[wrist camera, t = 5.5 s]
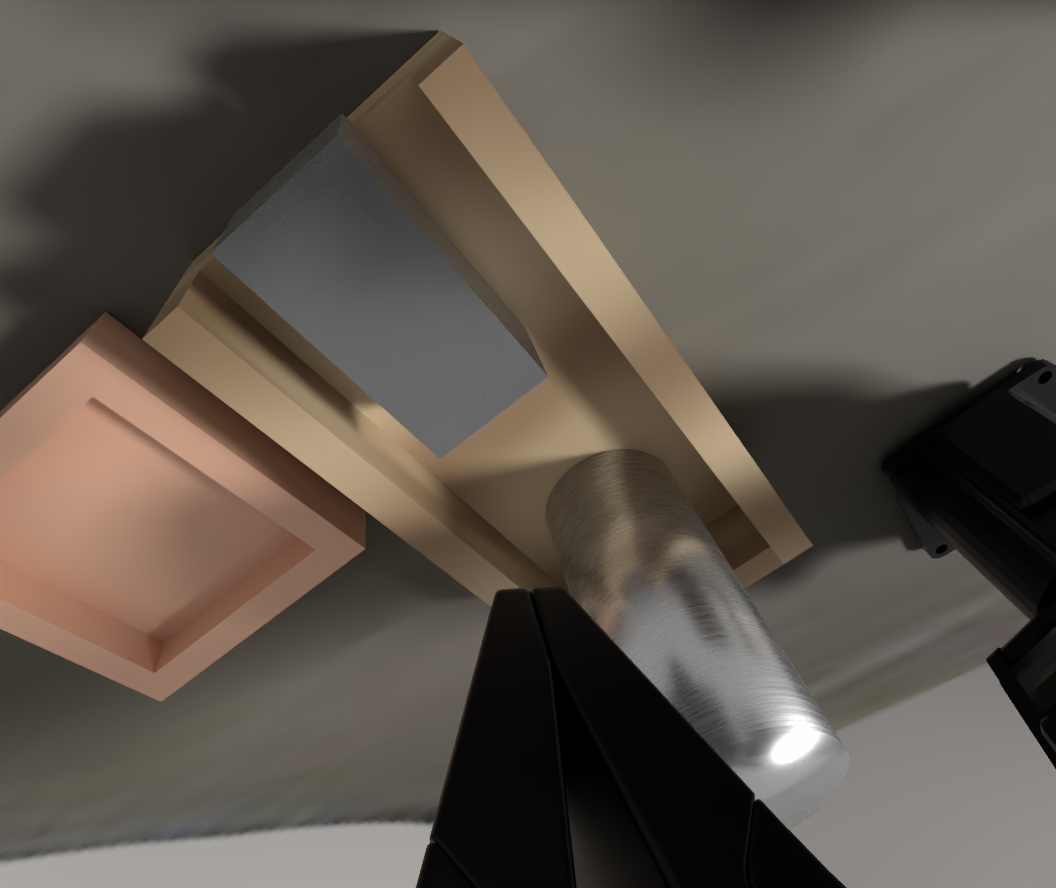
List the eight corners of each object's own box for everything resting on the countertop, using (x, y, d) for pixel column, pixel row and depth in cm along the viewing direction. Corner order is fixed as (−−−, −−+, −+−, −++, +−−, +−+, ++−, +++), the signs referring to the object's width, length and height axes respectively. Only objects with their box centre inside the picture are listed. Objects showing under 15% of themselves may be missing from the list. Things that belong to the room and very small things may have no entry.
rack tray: (365, 511, 22) (365, 548, 20) (174, 657, 24) (161, 701, 22) (105, 311, 17) (80, 341, 15) (-110, 515, 19) (-151, 560, 17)
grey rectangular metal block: (525, 328, 16) (548, 376, 14) (431, 403, 17) (439, 459, 15) (342, 112, 13) (337, 134, 11) (233, 214, 14) (210, 253, 12)
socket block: (744, 459, 24) (812, 545, 20) (560, 584, 25) (593, 685, 22) (440, 30, 15) (463, 43, 11) (192, 261, 17) (141, 339, 13)
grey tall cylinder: (698, 503, 21) (876, 781, 14) (593, 575, 22) (708, 873, 14) (631, 423, 19) (801, 701, 11) (518, 505, 20) (608, 814, 12)
